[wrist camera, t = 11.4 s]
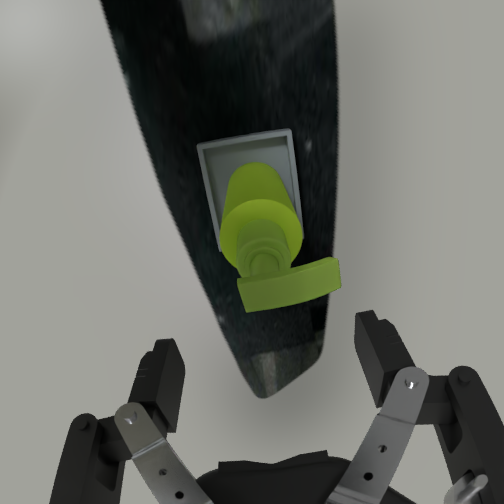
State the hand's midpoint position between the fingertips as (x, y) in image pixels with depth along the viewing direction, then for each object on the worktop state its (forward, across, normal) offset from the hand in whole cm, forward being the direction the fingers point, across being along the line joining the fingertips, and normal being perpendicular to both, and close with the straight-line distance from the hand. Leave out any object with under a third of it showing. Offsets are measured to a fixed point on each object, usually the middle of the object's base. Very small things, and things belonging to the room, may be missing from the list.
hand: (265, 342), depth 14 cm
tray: (+24, 0, 0) cm, 24 cm away
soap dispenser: (+24, -1, 0) cm, 24 cm away
